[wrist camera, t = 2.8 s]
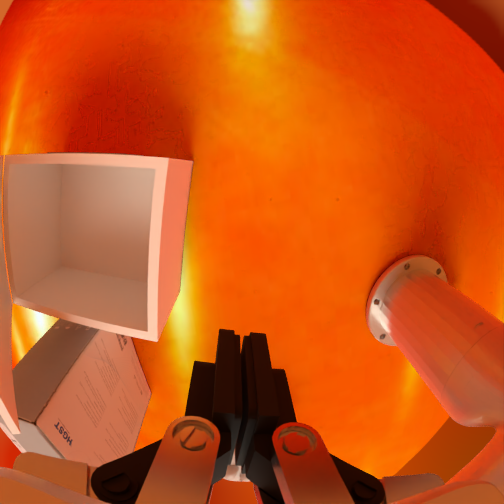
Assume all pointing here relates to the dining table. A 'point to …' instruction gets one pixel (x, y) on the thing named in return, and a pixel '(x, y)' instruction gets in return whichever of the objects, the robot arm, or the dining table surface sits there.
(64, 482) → the robot arm
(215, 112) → the dining table surface
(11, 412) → the lid flap
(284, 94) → the dining table surface
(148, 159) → the carton
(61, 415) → the hard drive box
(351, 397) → the dining table surface
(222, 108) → the dining table surface
